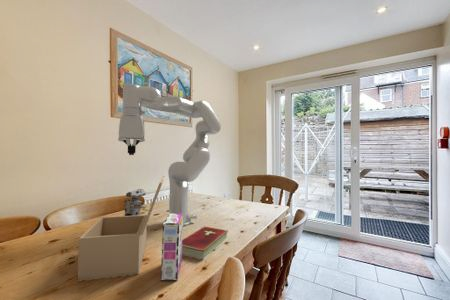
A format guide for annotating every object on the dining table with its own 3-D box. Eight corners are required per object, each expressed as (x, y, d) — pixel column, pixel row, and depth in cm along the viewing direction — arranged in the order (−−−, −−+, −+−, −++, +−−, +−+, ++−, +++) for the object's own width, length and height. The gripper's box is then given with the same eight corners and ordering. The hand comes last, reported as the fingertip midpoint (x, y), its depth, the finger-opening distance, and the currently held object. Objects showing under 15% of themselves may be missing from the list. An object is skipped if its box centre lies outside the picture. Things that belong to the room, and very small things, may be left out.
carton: (146, 245, 84) (146, 214, 84) (138, 274, 64) (139, 234, 64) (100, 249, 80) (101, 217, 80) (77, 281, 60) (78, 238, 61)
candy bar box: (178, 281, 61) (179, 223, 61) (160, 281, 61) (161, 223, 61) (182, 261, 72) (183, 212, 73) (167, 261, 72) (168, 212, 72)
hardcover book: (174, 254, 78) (174, 243, 78) (203, 234, 97) (203, 225, 97) (203, 262, 73) (203, 249, 73) (227, 239, 92) (228, 229, 92)
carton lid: (147, 215, 84) (149, 215, 84) (139, 234, 64) (142, 235, 65) (162, 175, 85) (164, 176, 86) (159, 182, 66) (162, 183, 66)
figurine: (149, 216, 122) (150, 189, 122) (130, 221, 113) (130, 192, 113) (140, 213, 128) (141, 187, 128) (121, 217, 118) (122, 190, 118)
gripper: (150, 115, 100) (150, 154, 100) (115, 113, 96) (114, 154, 96) (149, 112, 93) (149, 155, 93) (111, 110, 89) (110, 155, 89)
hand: (131, 154), depth 94 cm, fingers closed
